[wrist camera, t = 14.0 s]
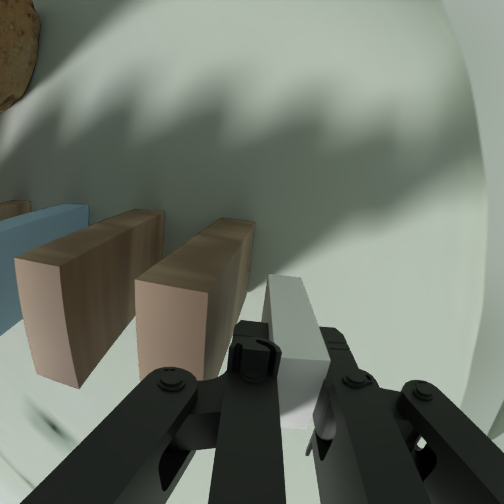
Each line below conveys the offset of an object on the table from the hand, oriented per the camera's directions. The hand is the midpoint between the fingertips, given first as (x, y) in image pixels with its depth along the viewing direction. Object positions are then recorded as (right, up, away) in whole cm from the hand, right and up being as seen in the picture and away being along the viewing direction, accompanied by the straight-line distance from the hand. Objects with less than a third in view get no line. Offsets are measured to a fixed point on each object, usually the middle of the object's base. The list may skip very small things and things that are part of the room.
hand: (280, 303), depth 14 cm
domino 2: (-8, +3, +6) cm, 11 cm away
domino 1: (-3, +2, +6) cm, 7 cm away
